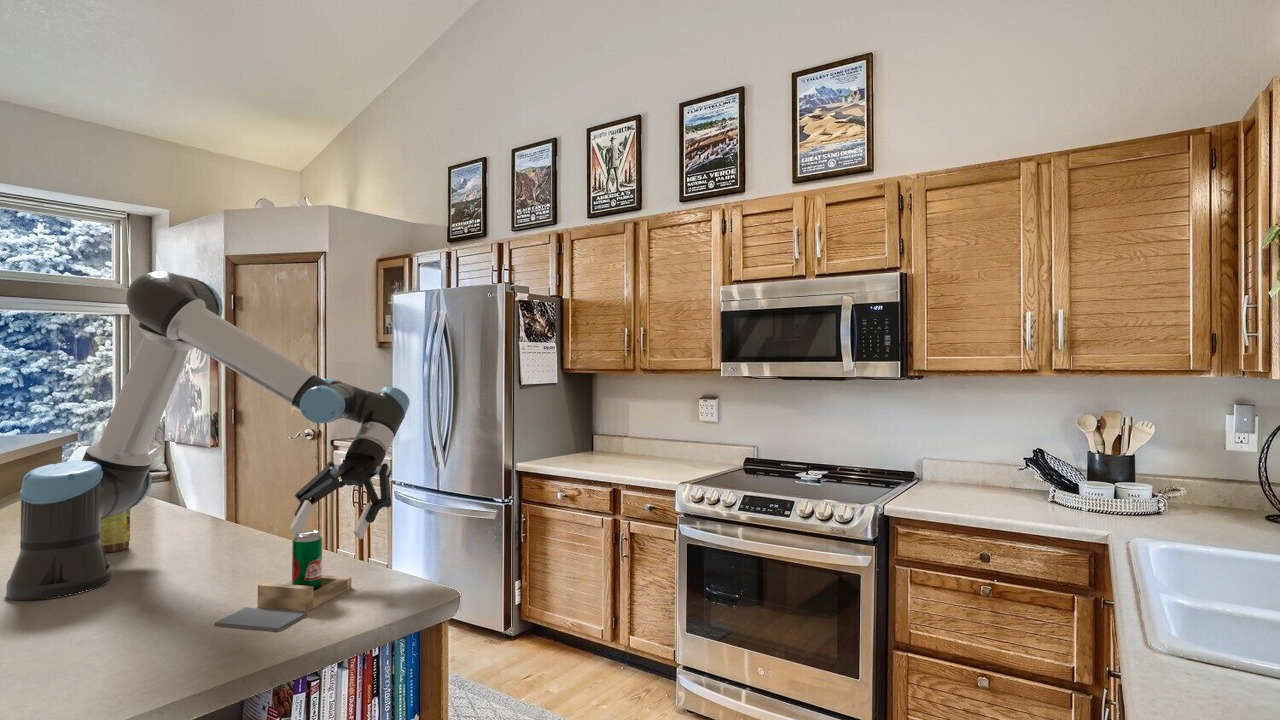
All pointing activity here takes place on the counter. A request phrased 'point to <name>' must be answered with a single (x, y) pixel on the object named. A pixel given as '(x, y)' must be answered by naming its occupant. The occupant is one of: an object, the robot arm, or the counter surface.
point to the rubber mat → (261, 619)
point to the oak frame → (300, 594)
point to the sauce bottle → (115, 532)
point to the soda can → (307, 559)
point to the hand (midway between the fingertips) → (325, 534)
